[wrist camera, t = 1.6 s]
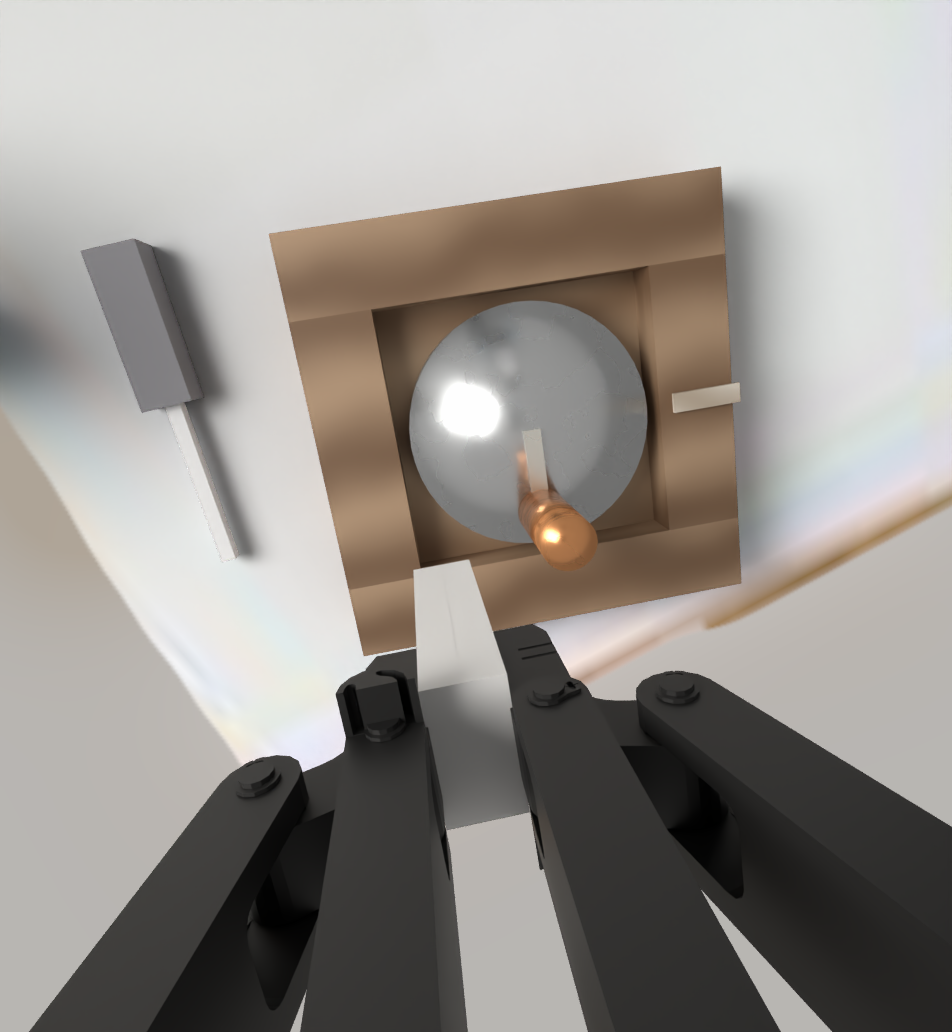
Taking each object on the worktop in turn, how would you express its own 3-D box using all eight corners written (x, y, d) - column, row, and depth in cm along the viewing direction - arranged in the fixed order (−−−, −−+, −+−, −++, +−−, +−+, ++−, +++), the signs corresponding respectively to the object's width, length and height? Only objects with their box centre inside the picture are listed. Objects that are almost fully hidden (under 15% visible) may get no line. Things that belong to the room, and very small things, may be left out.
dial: (388, 323, 33) (384, 315, 25) (623, 286, 34) (687, 267, 26) (430, 550, 36) (438, 604, 29) (643, 511, 37) (705, 553, 30)
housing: (285, 248, 34) (267, 232, 29) (689, 187, 35) (729, 164, 31) (368, 624, 40) (363, 658, 35) (711, 559, 41) (748, 584, 37)
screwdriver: (102, 257, 33) (80, 250, 31) (152, 246, 33) (133, 238, 31) (214, 557, 38) (201, 571, 35) (257, 546, 38) (247, 559, 36)
